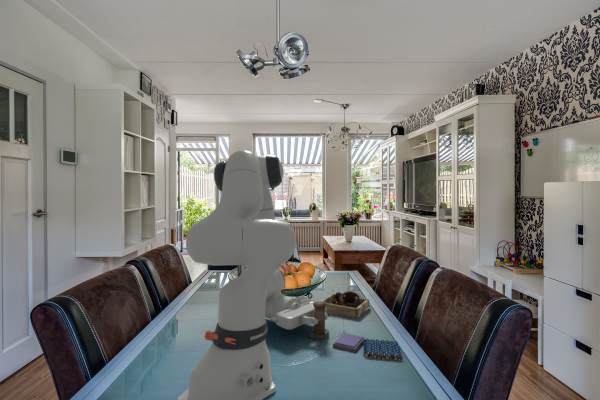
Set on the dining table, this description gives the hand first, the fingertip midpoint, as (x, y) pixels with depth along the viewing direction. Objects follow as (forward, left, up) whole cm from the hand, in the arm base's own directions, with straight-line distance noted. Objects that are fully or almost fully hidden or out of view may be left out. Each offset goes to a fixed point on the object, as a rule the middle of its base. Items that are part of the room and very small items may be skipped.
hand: (321, 319), depth 107 cm
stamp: (0, +1, -6) cm, 6 cm away
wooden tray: (+29, +4, -6) cm, 30 cm away
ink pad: (0, -9, -6) cm, 11 cm away
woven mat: (0, -19, -7) cm, 20 cm away
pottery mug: (+31, +3, -6) cm, 31 cm away
